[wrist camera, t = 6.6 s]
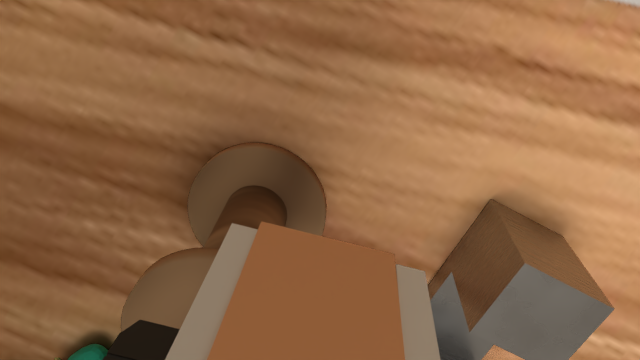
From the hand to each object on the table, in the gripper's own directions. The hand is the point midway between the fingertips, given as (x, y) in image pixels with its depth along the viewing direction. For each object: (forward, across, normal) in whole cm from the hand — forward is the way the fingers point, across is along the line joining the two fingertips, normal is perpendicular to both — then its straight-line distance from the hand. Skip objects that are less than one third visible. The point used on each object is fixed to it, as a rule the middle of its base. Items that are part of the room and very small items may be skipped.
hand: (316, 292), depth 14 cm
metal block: (+17, +10, -10) cm, 23 cm away
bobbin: (+17, -3, -7) cm, 19 cm away
